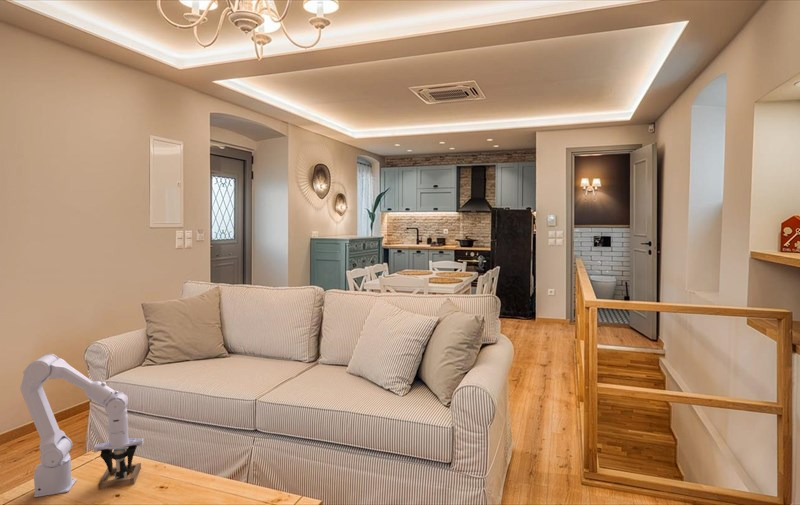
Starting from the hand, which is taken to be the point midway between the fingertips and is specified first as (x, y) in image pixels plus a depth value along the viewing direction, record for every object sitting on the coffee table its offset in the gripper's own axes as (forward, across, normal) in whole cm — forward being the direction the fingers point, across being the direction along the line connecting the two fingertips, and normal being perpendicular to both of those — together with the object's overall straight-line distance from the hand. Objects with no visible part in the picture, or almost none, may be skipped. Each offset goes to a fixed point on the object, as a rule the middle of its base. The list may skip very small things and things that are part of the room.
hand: (120, 468), depth 160 cm
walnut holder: (+3, 0, 0) cm, 3 cm away
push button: (+4, 0, 0) cm, 4 cm away
